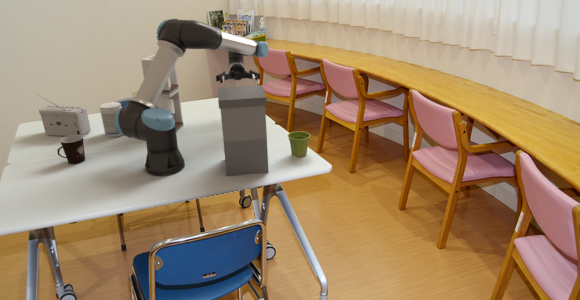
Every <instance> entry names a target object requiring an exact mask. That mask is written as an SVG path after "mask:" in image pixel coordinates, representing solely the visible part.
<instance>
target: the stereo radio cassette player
mask: <svg viewBox="0 0 580 300" xmlns="http://www.w3.org/2000/svg"><path fill="white" fill-rule="evenodd" d="M37 96H38V97H40V98H42V99H44V100H46V101H48V102H49V103H51V104H52V105H47V106H45V107H42V108H40V109H38V113H39V115H40V117H41V121H42V125H43V129H44V132H45V134H46V136H57V137H58V136H60V137H67V136H71V135H81V136H83V137H84V136H85V135H87V134H89V133H90V132H91V125H90V119H89V115H88V111H87V108H86V107H85V106H84V107H81V106H61V105H58V104H56V103H53V102H52V101H51V100H48V99H47V98H45V97H43V96H41V95H37Z"/></svg>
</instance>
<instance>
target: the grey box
mask: <svg viewBox="0 0 580 300" xmlns="http://www.w3.org/2000/svg"><path fill="white" fill-rule="evenodd" d="M217 90H218V91H217V94H218V95H217V99H218V109H220V117H221V118H220V119H221V128H222V129H221V130H222V140H223V149H224V150H223V151H224V161H225V172H226V173H225V174H226V177H232V176H244V175H254V174H256V175H257V174H265V173H269V172H270V171H269V157H268V152H269V150H268V135H267V133H268V132H267V116H266V115H267V114H266V106H267V105H268V104H267V101H268V100H267V96H266V93H265V90H264V87H263V85H261V84H260V85H245V86H244V85H243V86H229V87H228V86H227V87H218V88H217Z"/></svg>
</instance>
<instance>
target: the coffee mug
mask: <svg viewBox="0 0 580 300" xmlns="http://www.w3.org/2000/svg"><path fill="white" fill-rule="evenodd" d="M59 141H60V144H61V146H59V148H58V149H57V155H58V156H59V157H61V158H64V159H67V163H68V164H70V165H78V164H82V163H84V161H86V156H85V154H86V153H85V143H84V142H85V141H84V135H83V136H81V135H71V136H63V137H62V138H60V139H59ZM61 149H63V152H64V155H65V156H64V155H61V153H60V151H61Z"/></svg>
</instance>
